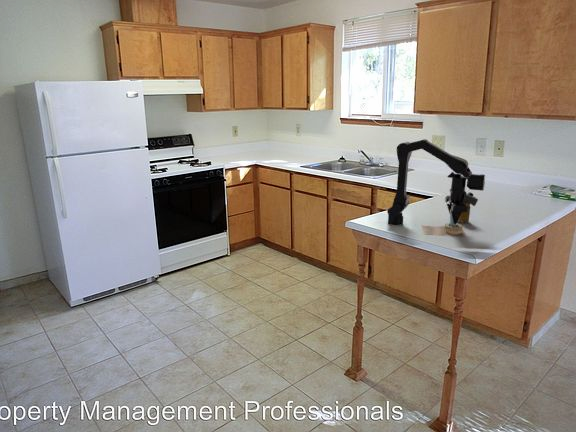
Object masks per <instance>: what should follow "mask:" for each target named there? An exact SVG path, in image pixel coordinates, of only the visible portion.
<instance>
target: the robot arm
mask: <svg viewBox="0 0 576 432" xmlns="http://www.w3.org/2000/svg"><path fill="white" fill-rule="evenodd" d="M419 150H423V151H425V152H427V153H428V154H430V155H431V156H433V157H435V158H437V160H440V161H441V162H444V163H445V165H446V166H447V167H448V168H449V169H450V170H452V171H451V172H450V174H447V176H446V177H447V178H448V179H449V178H451V187H450V189H449V192H450V194H449V195H447V196H446V197H444V202H445V203H446V207H447V209H448V214H450V211H451V215H452V219H453V222H454V224H458V223H457V222H458V219H459V217H460V215H461V213H463V212H468V207H467V206H466V205H465V203H469V204H470V206H474V207H475V206H476V205H477V204H478V201H479V199H478V198H477V197H476V196H474V193H473V192H471V191H468V192H466V187H467V188H468V189H469V190H472V191H481V192H482V191H484V189H485V185H486V181H485V180H486V174H475V173H473V172H472V170H471V169H470V167H469V162H468V160H466V158H463V157H459V156H457V155H453V154H451V153H449V152H448V151H446V150H444V149H442V148H440V147H439V146H438V145H435V144H433V142H430V141H429V140H428V139H426V138H423V139H420V140H417V141H411V142H409V141H404V142H401V143H399V144H398V145H397V146H396V155H397V156H396V157H397V161H398V166H397V167H398V171H397V183H396V192H395V195H394V198H393V202H392V205H391V207H390V208H388V209H387V211H386V212H387V217H388V218H387V224H388V225H391V226H399V225H400V226H401V225H403V224H404V215H403V211H404V210H405V209H406V208H407V207H408V206H409V205H410V197H411V195H407V184H408V183H407V182H408V175H409V174H408V172H409V162H410V159H411V157H412V154H413V152H415V151H419ZM461 203H463V204H461Z"/></svg>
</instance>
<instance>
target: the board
mask: <svg viewBox="0 0 576 432" xmlns="http://www.w3.org/2000/svg"><path fill="white" fill-rule="evenodd" d="M421 228H422V231H423V234H424V235H425V236H445V237H466V238H468V235H467V234H466V232H465V231H464V229H463V228H462V233H461V234H449V233H446V232H445V231H444V229H445V226H435V225H421Z"/></svg>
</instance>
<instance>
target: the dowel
mask: <svg viewBox="0 0 576 432" xmlns="http://www.w3.org/2000/svg"><path fill="white" fill-rule="evenodd" d="M449 223H450V226H452V227H457V224H458V223H457V224H454V222H453V219H452V215H451V211H450V213H449Z"/></svg>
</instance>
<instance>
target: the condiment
mask: <svg viewBox="0 0 576 432" xmlns="http://www.w3.org/2000/svg"><path fill="white" fill-rule="evenodd" d="M461 204H463V203H461ZM465 205H466V206H467V207H468V212H463V213H461V215H460V217H459V219H458V222H457V224H460V225H462V224H465V225H466V224H469V223H470V215H471V204H469V203H465Z"/></svg>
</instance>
